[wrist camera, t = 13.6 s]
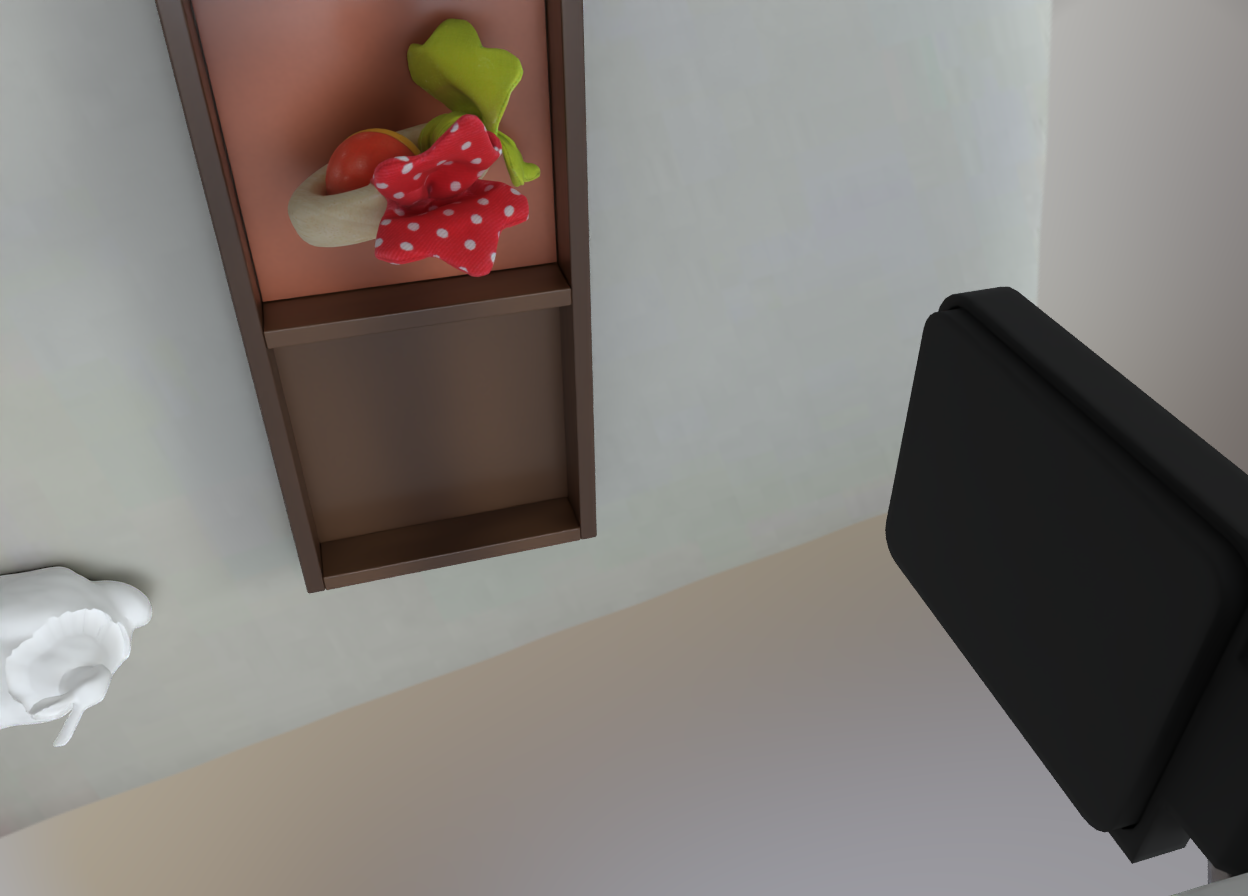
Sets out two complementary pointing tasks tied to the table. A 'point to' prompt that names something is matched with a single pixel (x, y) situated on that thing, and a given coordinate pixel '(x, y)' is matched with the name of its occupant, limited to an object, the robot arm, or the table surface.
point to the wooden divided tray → (399, 286)
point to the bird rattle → (427, 166)
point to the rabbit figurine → (62, 643)
